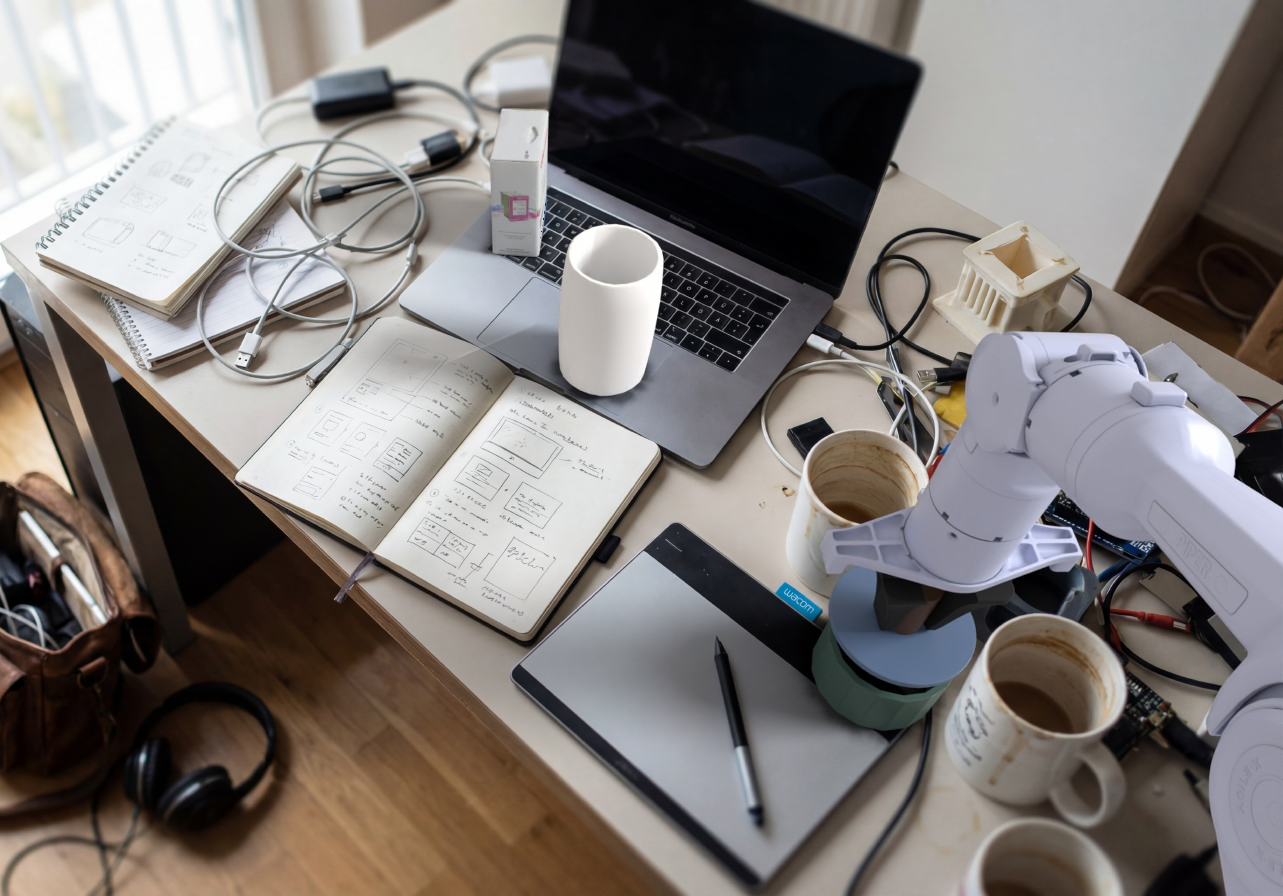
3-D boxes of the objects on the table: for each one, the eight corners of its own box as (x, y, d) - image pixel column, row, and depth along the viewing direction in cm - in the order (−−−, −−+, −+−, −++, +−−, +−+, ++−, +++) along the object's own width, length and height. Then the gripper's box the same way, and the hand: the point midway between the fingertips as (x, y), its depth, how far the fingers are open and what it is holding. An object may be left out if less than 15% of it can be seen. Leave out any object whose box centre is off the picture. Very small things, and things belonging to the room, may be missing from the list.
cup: (581, 419, 90) (593, 303, 79) (539, 356, 95) (544, 238, 83) (664, 389, 92) (687, 271, 81) (619, 328, 97) (635, 209, 85)
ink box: (500, 201, 109) (500, 104, 99) (547, 205, 108) (551, 107, 99) (489, 254, 103) (489, 157, 94) (538, 258, 103) (542, 161, 94)
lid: (1001, 649, 67) (1036, 607, 63) (895, 717, 64) (925, 679, 60) (898, 545, 72) (924, 500, 68) (796, 605, 69) (817, 562, 65)
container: (956, 696, 73) (984, 663, 69) (867, 754, 71) (891, 724, 67) (872, 605, 78) (894, 569, 74) (785, 657, 75) (803, 623, 71)
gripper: (1086, 441, 59) (995, 563, 69) (835, 443, 59) (783, 565, 70) (1135, 544, 54) (1030, 658, 65) (864, 547, 54) (804, 660, 65)
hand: (904, 616), depth 67 cm, fingers closed on lid, 2 cm apart
